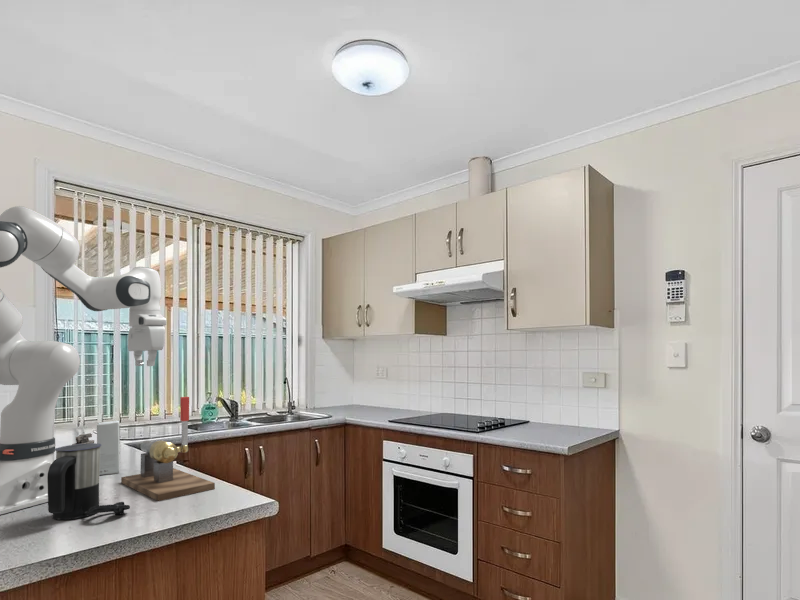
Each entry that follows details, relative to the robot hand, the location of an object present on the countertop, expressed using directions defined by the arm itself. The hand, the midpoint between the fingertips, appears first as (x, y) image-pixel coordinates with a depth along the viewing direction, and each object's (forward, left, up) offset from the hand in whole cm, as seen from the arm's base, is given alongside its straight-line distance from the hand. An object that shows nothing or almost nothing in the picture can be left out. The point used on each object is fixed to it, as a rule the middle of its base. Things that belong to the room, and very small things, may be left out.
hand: (144, 366), depth 163 cm
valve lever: (-10, -21, -23) cm, 33 cm away
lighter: (+4, +26, -32) cm, 41 cm away
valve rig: (-15, -18, -31) cm, 39 cm away
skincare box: (-2, +11, -32) cm, 33 cm away
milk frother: (-39, -19, -32) cm, 53 cm away
